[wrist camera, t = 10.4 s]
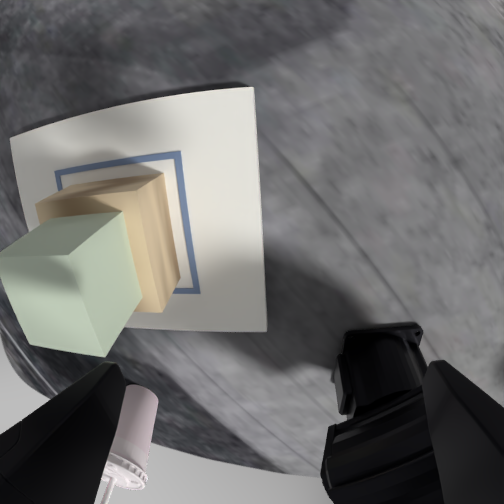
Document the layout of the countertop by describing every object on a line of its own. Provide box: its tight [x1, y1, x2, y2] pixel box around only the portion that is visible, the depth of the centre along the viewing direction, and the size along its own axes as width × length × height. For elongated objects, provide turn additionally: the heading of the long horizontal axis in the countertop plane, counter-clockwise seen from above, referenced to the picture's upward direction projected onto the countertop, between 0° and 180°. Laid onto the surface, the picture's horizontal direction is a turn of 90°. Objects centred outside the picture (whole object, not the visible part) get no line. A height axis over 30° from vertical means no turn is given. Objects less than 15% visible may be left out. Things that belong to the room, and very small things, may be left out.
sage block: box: [0, 211, 142, 357], centre depth 14 cm, size 5×5×5 cm
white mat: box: [10, 87, 267, 332], centre depth 20 cm, size 18×16×1 cm
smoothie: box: [101, 385, 158, 504], centre depth 23 cm, size 6×6×14 cm
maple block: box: [35, 173, 181, 313], centre depth 18 cm, size 7×7×4 cm
